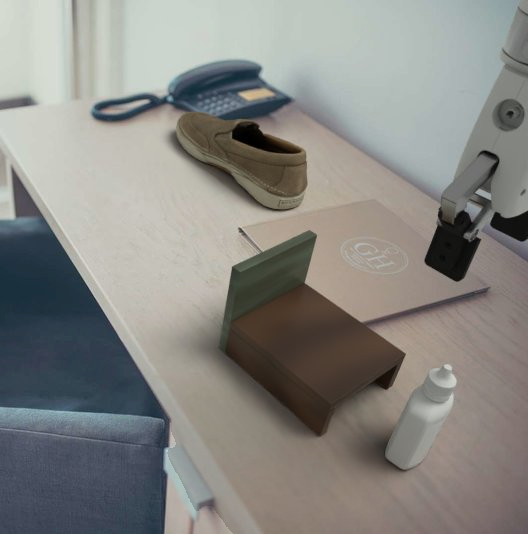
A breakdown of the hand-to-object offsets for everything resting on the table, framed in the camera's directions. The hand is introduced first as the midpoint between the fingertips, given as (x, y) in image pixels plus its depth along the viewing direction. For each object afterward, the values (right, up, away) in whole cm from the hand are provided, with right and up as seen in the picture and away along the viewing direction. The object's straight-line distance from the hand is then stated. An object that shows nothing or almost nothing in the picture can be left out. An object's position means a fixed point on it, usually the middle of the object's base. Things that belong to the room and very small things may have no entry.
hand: (476, 251), depth 53 cm
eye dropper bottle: (-1, -20, +11) cm, 22 cm away
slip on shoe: (-11, +15, +54) cm, 58 cm away
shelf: (-9, -13, +19) cm, 24 cm away
